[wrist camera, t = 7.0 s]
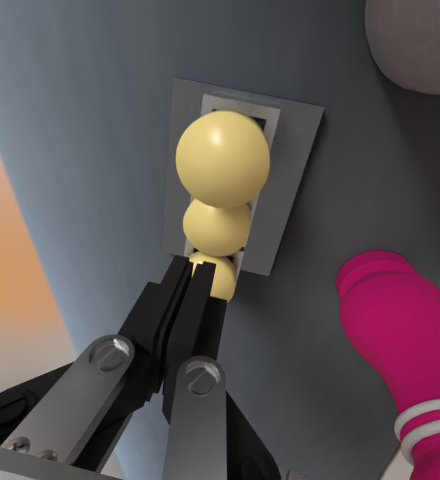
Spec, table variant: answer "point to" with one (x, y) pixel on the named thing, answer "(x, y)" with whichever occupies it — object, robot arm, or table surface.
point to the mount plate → (279, 177)
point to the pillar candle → (406, 42)
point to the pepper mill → (398, 345)
